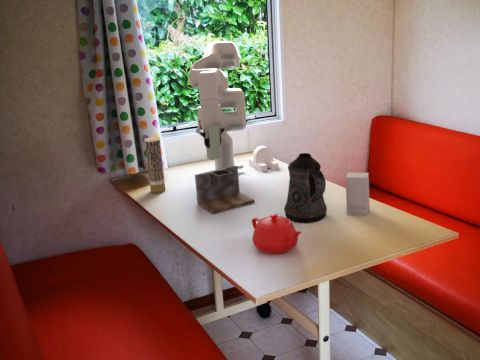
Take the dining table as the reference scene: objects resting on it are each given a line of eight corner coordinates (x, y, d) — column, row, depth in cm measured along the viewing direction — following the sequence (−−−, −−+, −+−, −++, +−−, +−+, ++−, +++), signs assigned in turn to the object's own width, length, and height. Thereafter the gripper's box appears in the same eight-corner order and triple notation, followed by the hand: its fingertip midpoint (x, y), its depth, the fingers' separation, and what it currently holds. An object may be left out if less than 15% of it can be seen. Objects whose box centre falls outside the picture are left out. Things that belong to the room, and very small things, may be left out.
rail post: (216, 155, 235) (213, 118, 230) (221, 158, 231) (218, 120, 227) (207, 157, 233) (203, 120, 228) (211, 160, 229) (208, 122, 225)
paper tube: (166, 188, 261) (161, 136, 254) (163, 193, 255) (157, 140, 247) (152, 188, 262) (146, 137, 255) (149, 193, 256) (142, 141, 248)
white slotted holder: (261, 172, 276) (260, 151, 273) (248, 164, 292) (247, 144, 289) (279, 169, 279) (278, 148, 276) (265, 161, 295) (263, 141, 292)
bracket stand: (237, 194, 247) (235, 165, 243) (254, 202, 235) (252, 172, 231) (197, 204, 237) (194, 174, 233) (213, 214, 226) (210, 182, 222)
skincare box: (369, 210, 219) (370, 172, 214) (367, 216, 213) (367, 177, 208) (348, 208, 222) (348, 171, 217) (345, 214, 216) (345, 176, 211)
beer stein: (297, 205, 228) (295, 147, 221) (341, 213, 218) (340, 151, 210) (276, 219, 216) (273, 157, 208) (321, 228, 205) (320, 163, 197)
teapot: (237, 244, 196) (234, 212, 192) (270, 231, 205) (268, 200, 201) (285, 267, 177) (283, 232, 174) (319, 251, 186) (318, 218, 182)
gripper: (223, 98, 232) (226, 140, 238) (186, 104, 224) (190, 147, 230) (232, 100, 226) (235, 144, 231) (194, 106, 218) (198, 151, 224)
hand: (213, 145), depth 231 cm, fingers closed on rail post, 4 cm apart
